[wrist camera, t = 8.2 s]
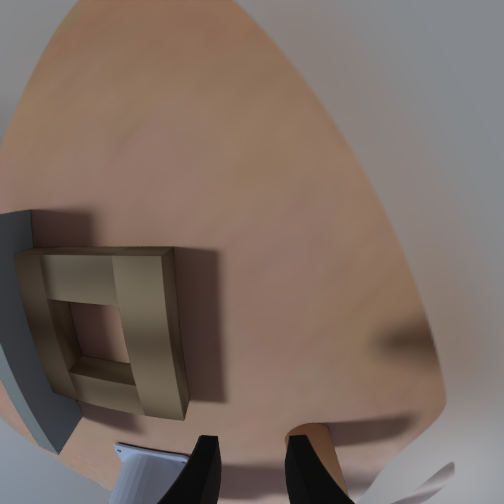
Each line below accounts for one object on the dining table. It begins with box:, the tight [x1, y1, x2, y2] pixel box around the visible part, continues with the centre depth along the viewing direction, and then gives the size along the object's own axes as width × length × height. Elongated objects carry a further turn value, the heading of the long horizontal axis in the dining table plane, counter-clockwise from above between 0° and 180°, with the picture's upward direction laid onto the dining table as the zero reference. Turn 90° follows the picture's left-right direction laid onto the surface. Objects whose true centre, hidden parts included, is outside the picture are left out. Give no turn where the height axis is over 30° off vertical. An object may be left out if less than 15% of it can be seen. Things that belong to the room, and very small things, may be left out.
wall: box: [0, 210, 83, 455], centre depth 15 cm, size 20×2×6 cm, turn 0°
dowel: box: [285, 423, 349, 497], centre depth 16 cm, size 4×4×8 cm
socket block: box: [13, 247, 190, 421], centre depth 17 cm, size 12×12×2 cm
